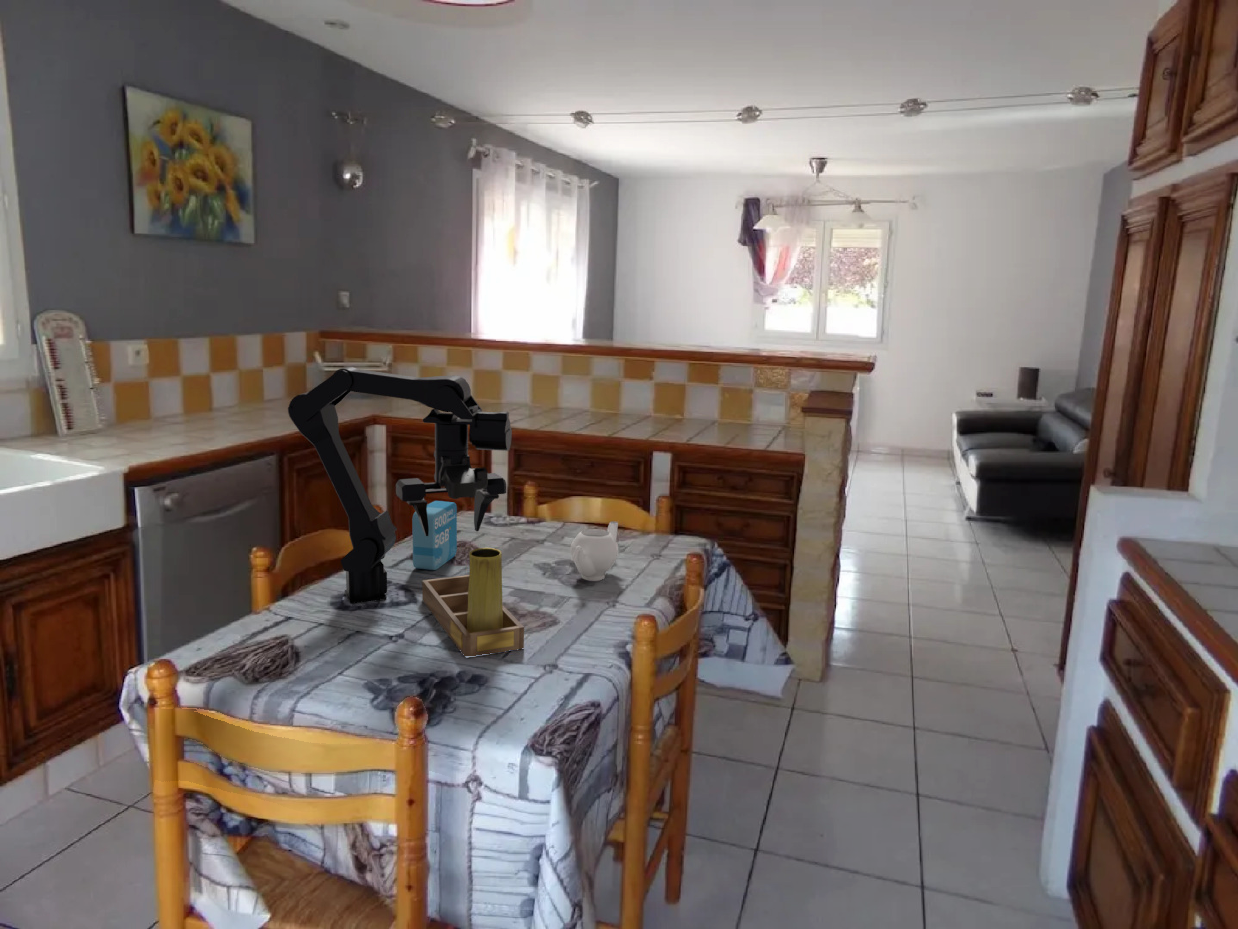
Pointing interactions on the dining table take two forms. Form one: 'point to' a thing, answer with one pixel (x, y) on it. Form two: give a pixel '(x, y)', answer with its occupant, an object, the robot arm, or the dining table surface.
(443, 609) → the rack
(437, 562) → the data package
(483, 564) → the vase
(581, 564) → the teapot
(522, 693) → the dining table surface
